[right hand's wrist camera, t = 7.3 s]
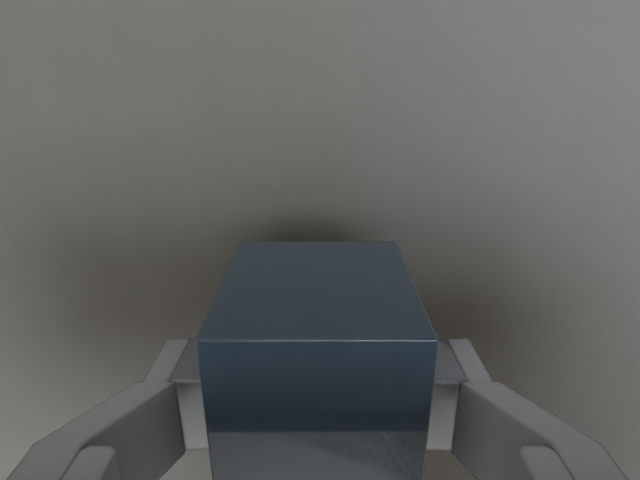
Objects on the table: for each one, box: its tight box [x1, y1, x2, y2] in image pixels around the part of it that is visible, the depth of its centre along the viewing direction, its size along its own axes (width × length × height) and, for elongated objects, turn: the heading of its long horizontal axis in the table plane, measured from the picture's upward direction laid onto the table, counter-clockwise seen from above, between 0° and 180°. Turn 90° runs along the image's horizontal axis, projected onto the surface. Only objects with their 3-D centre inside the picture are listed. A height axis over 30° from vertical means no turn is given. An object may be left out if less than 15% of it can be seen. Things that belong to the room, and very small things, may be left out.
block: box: [196, 241, 439, 480], centre depth 10 cm, size 5×4×4 cm
